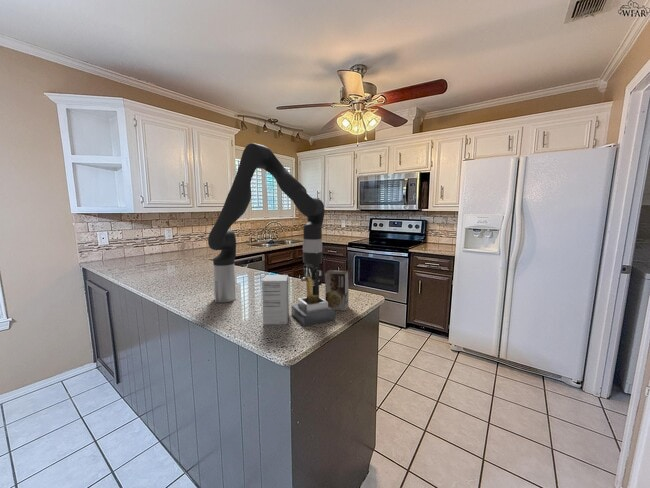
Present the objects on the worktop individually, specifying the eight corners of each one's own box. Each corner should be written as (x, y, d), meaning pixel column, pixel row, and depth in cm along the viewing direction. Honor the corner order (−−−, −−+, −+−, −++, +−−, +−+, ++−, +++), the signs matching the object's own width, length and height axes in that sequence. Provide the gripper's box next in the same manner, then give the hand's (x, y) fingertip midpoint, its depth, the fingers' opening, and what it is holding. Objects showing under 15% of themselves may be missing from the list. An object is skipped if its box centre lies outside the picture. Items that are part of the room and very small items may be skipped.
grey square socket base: (304, 326, 100) (303, 307, 99) (291, 314, 111) (291, 297, 110) (334, 320, 105) (335, 302, 105) (320, 309, 117) (320, 293, 116)
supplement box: (266, 315, 110) (265, 274, 108) (289, 314, 111) (288, 274, 109) (262, 325, 100) (261, 280, 98) (287, 324, 101) (287, 280, 99)
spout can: (321, 302, 106) (321, 277, 105) (304, 305, 103) (304, 279, 102) (315, 298, 111) (315, 274, 110) (299, 301, 108) (299, 276, 106)
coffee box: (348, 306, 121) (349, 270, 119) (345, 311, 115) (345, 274, 113) (329, 304, 124) (329, 269, 122) (324, 308, 117) (324, 272, 116)
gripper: (296, 248, 110) (297, 289, 112) (311, 253, 97) (311, 299, 99) (313, 247, 113) (313, 287, 115) (329, 252, 100) (329, 296, 102)
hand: (312, 293), depth 107 cm, fingers closed on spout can, 5 cm apart
